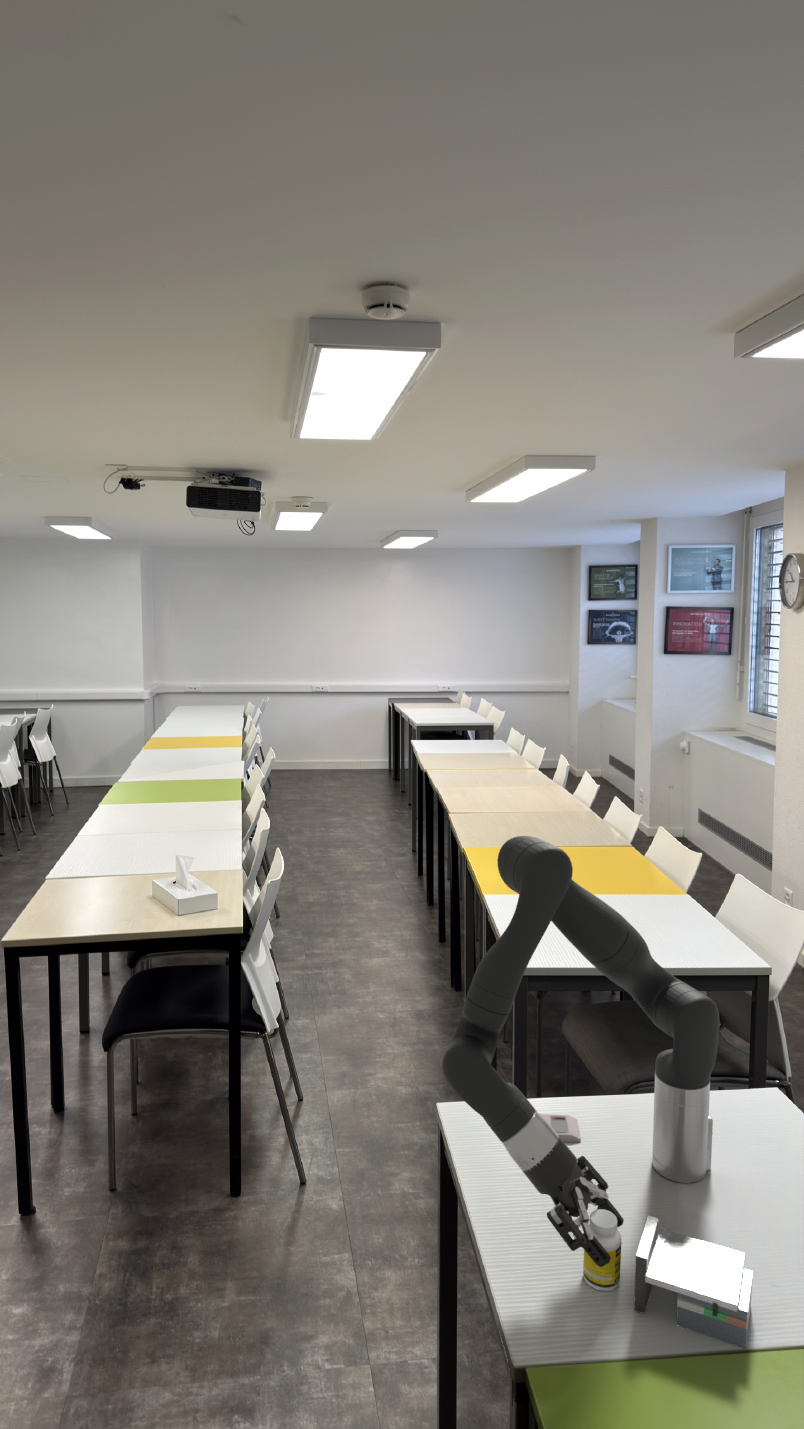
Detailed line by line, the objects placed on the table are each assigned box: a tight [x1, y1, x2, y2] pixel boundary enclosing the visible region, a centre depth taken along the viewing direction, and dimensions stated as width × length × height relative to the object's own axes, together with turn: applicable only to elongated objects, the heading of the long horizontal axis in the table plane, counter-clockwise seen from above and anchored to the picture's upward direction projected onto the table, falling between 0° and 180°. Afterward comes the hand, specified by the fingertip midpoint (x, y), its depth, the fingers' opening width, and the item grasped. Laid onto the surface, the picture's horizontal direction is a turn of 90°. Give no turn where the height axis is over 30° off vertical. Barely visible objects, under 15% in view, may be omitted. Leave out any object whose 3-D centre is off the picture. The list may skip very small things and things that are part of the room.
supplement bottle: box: [582, 1209, 622, 1291], centre depth 132 cm, size 5×5×10 cm
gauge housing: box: [676, 1267, 754, 1349], centre depth 125 cm, size 9×8×6 cm
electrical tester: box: [535, 1109, 582, 1143], centre depth 169 cm, size 7×16×3 cm, turn 85°
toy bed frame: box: [633, 1214, 746, 1317], centre depth 126 cm, size 14×10×8 cm
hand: (612, 1243), depth 131 cm, fingers open, 8 cm apart
